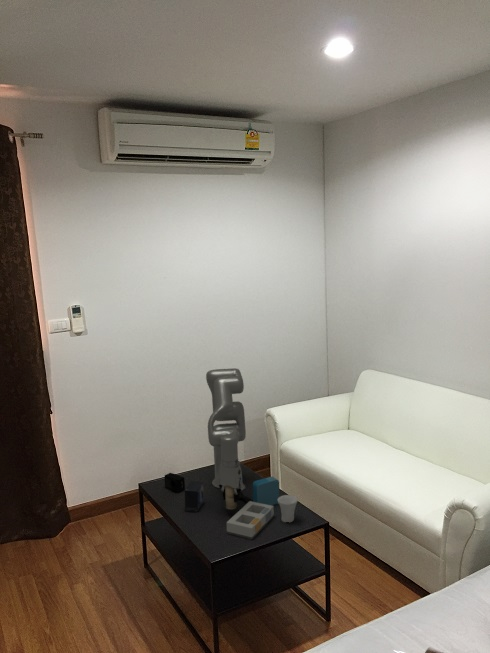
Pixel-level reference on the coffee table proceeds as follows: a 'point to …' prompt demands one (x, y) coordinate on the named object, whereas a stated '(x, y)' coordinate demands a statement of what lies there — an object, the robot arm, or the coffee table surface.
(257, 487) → the data package
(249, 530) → the socket block
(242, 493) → the hairbrush
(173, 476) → the digital camera
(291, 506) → the cup
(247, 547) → the coffee table surface
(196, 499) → the small box
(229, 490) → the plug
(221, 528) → the coffee table surface
